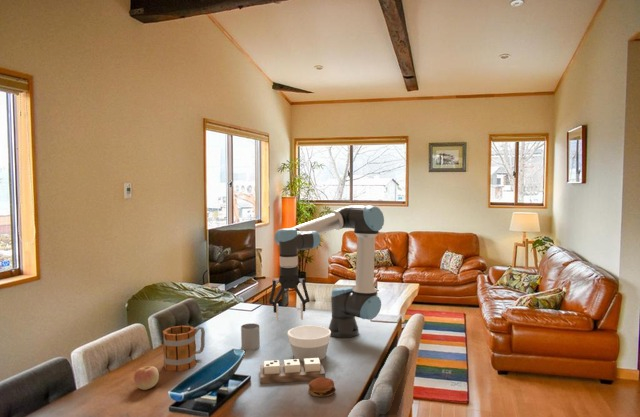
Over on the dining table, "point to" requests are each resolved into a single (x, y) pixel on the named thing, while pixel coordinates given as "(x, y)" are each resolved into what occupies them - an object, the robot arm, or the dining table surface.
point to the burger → (321, 387)
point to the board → (291, 375)
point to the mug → (181, 347)
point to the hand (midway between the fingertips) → (289, 319)
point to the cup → (250, 337)
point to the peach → (146, 377)
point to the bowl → (309, 341)
